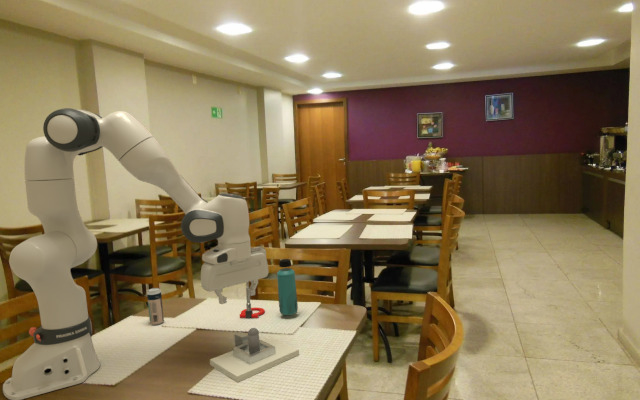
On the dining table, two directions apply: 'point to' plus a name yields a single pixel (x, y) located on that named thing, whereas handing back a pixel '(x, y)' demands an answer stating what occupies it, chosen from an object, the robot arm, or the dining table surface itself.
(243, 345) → the steel link
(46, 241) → the robot arm
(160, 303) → the beer can
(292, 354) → the board
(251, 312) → the tow hook
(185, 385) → the dining table surface
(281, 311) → the beverage bottle
